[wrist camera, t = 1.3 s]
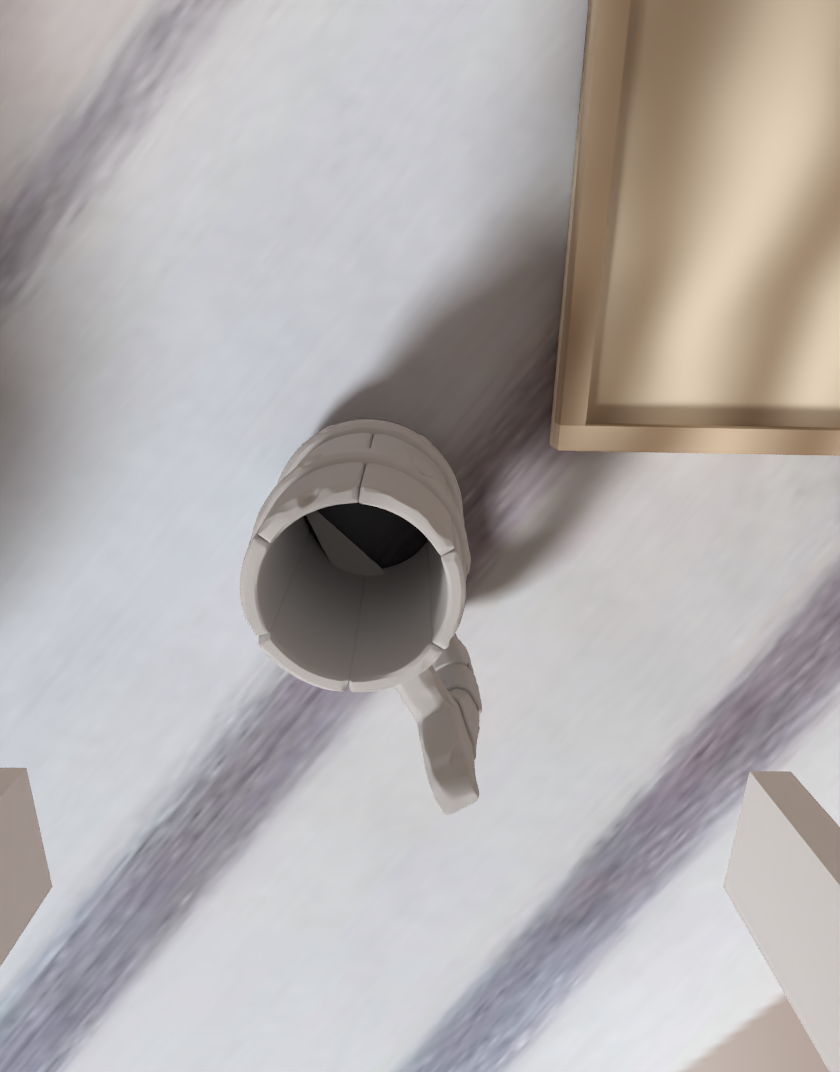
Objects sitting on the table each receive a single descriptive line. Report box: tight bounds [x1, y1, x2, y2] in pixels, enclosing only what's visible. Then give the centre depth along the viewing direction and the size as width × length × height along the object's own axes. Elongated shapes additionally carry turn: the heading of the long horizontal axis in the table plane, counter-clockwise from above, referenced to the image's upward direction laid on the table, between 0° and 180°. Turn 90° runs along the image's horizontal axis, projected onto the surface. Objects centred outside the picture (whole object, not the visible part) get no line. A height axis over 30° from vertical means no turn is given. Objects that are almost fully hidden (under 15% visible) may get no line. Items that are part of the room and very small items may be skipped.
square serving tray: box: [549, 0, 840, 455], centre depth 22 cm, size 19×19×2 cm
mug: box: [240, 419, 482, 815], centre depth 21 cm, size 8×12×12 cm, turn 29°
